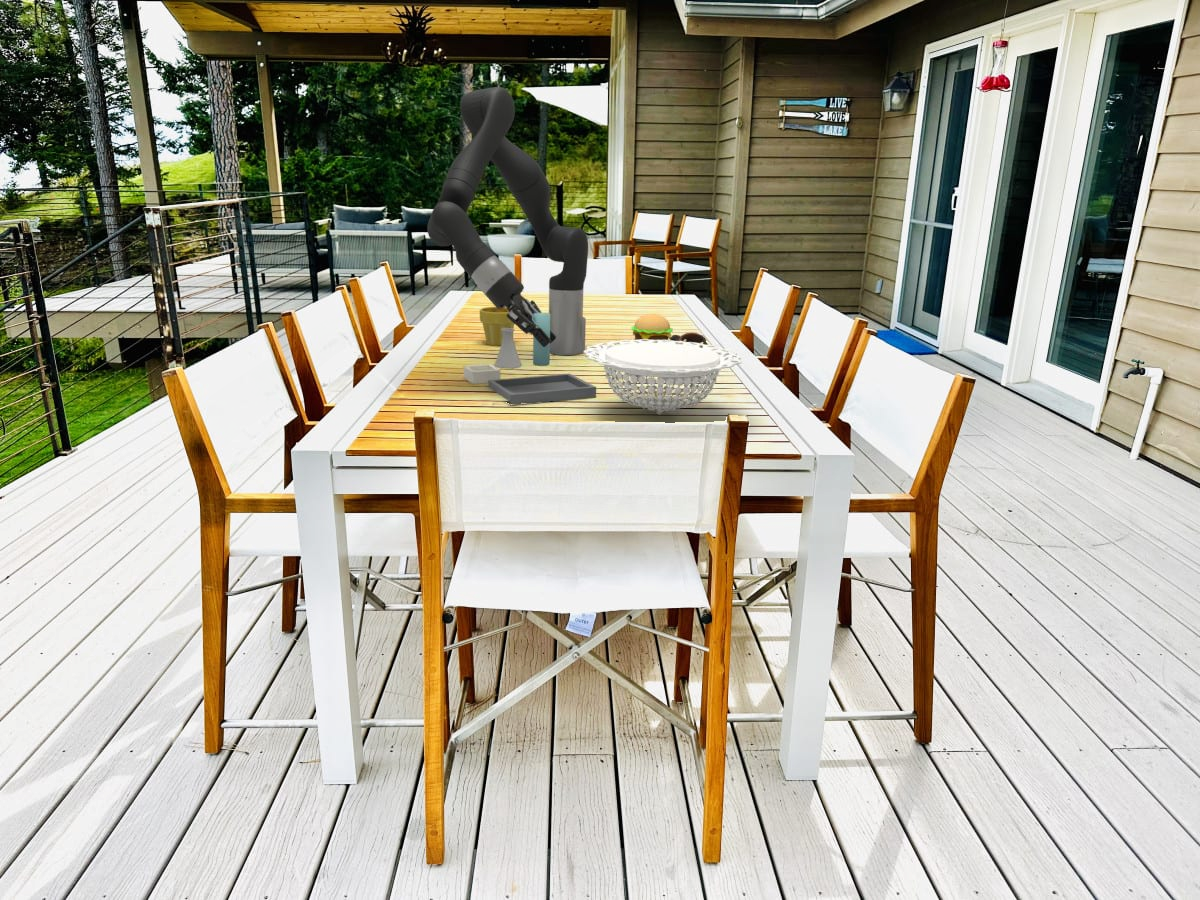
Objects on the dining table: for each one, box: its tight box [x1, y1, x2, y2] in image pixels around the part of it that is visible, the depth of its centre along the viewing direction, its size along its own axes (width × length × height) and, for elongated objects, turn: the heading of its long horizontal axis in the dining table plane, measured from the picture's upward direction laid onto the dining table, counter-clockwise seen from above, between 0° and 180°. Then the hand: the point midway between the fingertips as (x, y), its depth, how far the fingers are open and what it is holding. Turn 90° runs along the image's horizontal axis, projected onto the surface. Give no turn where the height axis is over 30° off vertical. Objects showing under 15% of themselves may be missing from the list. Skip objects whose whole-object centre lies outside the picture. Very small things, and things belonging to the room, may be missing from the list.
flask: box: [493, 328, 523, 370], centre depth 210 cm, size 7×7×10 cm
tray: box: [487, 373, 597, 405], centre depth 188 cm, size 20×14×2 cm
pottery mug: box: [669, 331, 709, 348], centre depth 228 cm, size 12×10×8 cm
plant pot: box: [479, 306, 515, 346], centre depth 240 cm, size 10×10×10 cm
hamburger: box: [631, 313, 674, 343], centre depth 247 cm, size 12×12×9 cm
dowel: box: [532, 312, 551, 367], centre depth 185 cm, size 4×4×11 cm
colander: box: [583, 339, 743, 415], centre depth 173 cm, size 32×32×13 cm
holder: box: [462, 363, 501, 385], centre depth 196 cm, size 7×7×4 cm
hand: (550, 342), depth 184 cm, fingers closed on dowel, 3 cm apart
